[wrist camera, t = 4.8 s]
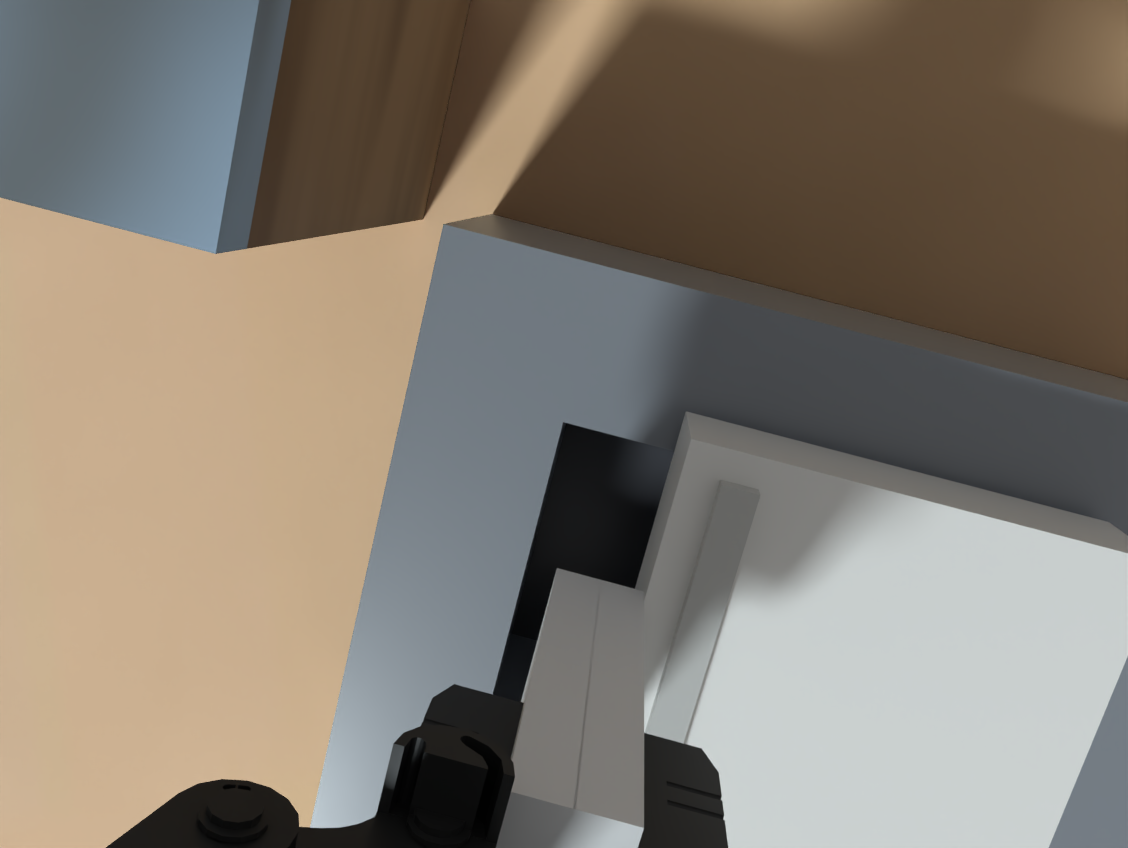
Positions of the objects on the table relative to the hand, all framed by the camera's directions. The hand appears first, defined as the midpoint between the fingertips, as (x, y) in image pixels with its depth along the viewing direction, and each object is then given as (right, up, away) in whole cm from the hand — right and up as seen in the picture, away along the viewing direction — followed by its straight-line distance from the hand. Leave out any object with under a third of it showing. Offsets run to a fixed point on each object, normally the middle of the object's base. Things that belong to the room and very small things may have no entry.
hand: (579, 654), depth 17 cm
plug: (-5, +11, +6) cm, 14 cm away
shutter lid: (+4, -1, +1) cm, 5 cm away
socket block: (+4, +1, +8) cm, 9 cm away
